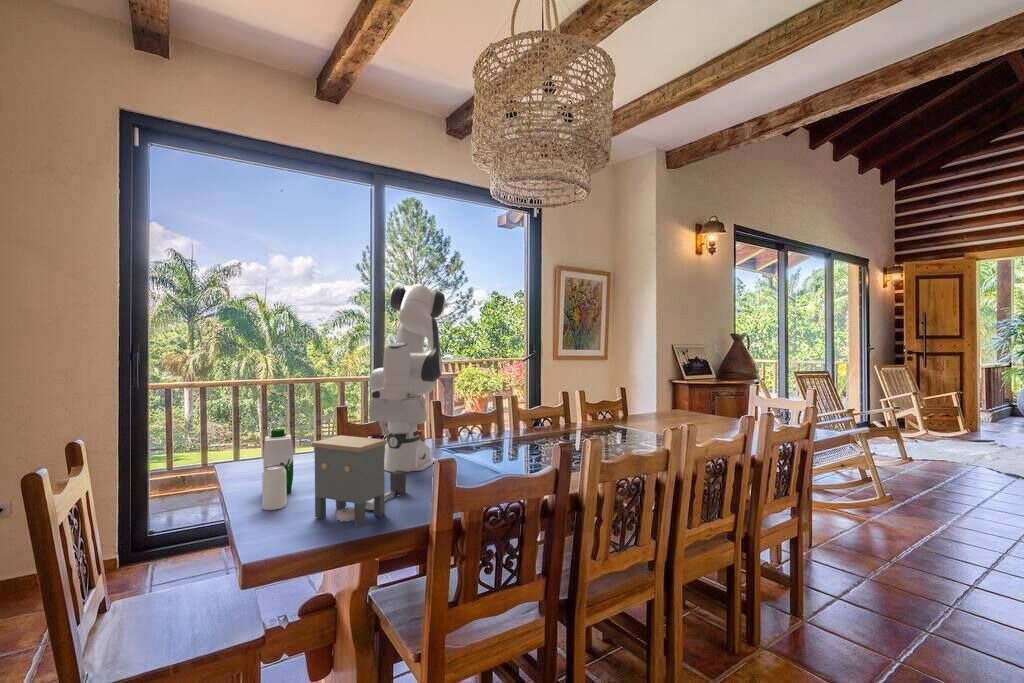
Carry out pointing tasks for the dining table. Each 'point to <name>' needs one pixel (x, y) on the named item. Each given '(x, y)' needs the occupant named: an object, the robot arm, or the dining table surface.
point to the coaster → (345, 514)
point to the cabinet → (349, 474)
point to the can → (274, 487)
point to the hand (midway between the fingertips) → (397, 436)
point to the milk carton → (279, 453)
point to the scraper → (392, 487)
